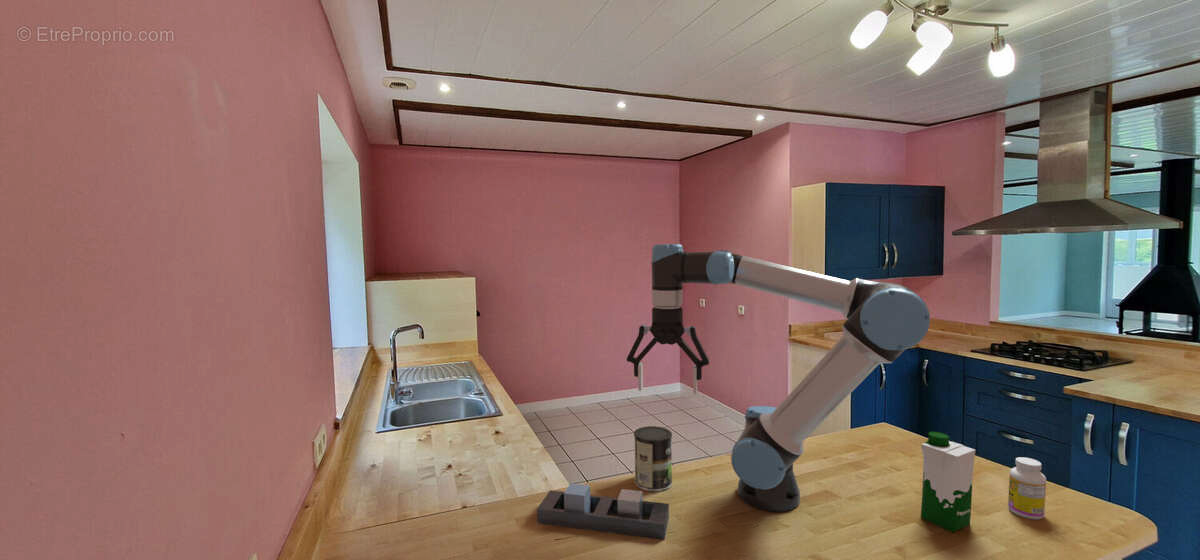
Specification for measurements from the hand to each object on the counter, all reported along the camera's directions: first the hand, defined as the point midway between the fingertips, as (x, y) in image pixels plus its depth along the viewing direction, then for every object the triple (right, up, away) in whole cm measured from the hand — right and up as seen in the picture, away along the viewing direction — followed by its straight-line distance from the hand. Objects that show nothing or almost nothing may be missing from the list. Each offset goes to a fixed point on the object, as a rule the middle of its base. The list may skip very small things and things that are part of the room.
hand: (667, 390), depth 124 cm
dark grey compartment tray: (-16, -30, -6) cm, 34 cm away
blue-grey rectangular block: (-22, -30, -4) cm, 37 cm away
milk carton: (+64, -29, -8) cm, 70 cm away
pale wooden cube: (-10, -30, -8) cm, 32 cm away
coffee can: (-2, -28, +12) cm, 31 cm away
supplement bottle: (+85, -28, -5) cm, 90 cm away
